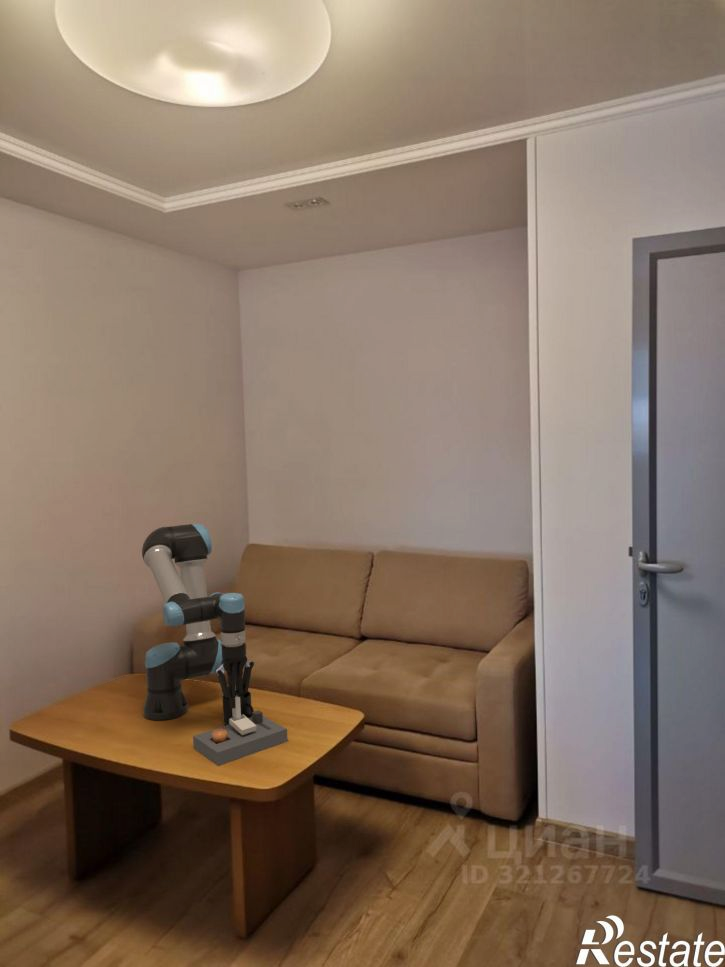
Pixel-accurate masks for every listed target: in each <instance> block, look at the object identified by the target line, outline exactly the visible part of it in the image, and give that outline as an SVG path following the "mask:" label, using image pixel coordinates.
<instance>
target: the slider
mask: <svg viewBox="0 0 725 967" xmlns="http://www.w3.org/2000/svg"><path fill="white" fill-rule="evenodd" d="M263 716H264V715H263V711H261V710H255V711H254V712H252V721H253V722H254V723H260V722H263Z"/></svg>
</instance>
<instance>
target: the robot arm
mask: <svg viewBox="0 0 725 967" xmlns="http://www.w3.org/2000/svg"><path fill="white" fill-rule="evenodd" d="M212 546H213V545H212V539H211V536H210V533H209V531H208V529H207V528H206V526H205V525H204V524H201V523H190V524H181V525H180V524H179V525H173V526H161V527H158V528H156V529H154V530H153V531H151V532H150V533H149V534H148V535H147V536H146V538H145V539H144V542H143V544H142V546H141V547H142V548H141V556H142V559H143V562H144V564H145V565H146V566H147V567H148V568H150V571H151V573H152V575H153V577H154V580H155V581H156V582H155V583H156V584H157V587H158V589H159V591H160V593H161V596H162V599H163V601H164V602H165V603H163V606H162V618H163V622H164V624H165V626H167V627H180V626H185V629H186V630H185V631H186V636H184V638H183V639H182V641H183V643H182V644H183V645H179V643H178V642H164V643H161V644H157V645H155V646H153V647H151V648H150V649H148V651H146V653H145V662H144V663H145V664H144V667H145V673H146V674H145V676H146V677H145V678H146V689H147V693H146V697H145V700H144V704H143V708H142V713H143V714H142V715H143V717H144V718H145V719H147V720H151V721H167V720H171V719H176V718H180V717H181V716H183V715H185V714H186V713H187V712H188V711H189V703H188V700H187V698H186V696H185V692H184V690H183V686H182V681H184V680H189V679H194V678H198V677H203V676H210V675H211V674H216V675H217V678H218V680H219V685H220V687H221V692H222V696H223V695H224V696H225V697H227V698H229V700H230V707H231V708H232V716H233V717H235V718H236V719H238V718H241V707H240V706H242V705H243V701H242V697H244V695H243V694H245V693H247V692H248V691H249V687H250V682H251V675H252V669H253V667H254V666H255V662H254V661H251V660H249V659H248V657H247V644H246V617H245V616H246V613H245V609H246V608H245V607H246V606H245V599H244V598H245V597H244V595H243V594H241V593H239V592H238V593H237V592H227V593H223V592H213V593H212V594H210V595H209V596H208V591H207V590H208V589H207V582H206V581H207V580H206V573H205V571H206V570H205V563H206V562H207V561H208V556H209V555H211V553H212ZM173 559H174V562H173ZM176 566H177V568H179V572H178V570H177V568H176ZM179 573H180V574H179ZM214 620H219V622H220V639H218V638H217V635H216V634H215V632H213V631H212V627H211V621H214ZM225 672H226V675H225ZM226 676H227V679H226ZM235 690H236V692H235ZM236 694H237V695H236Z"/></svg>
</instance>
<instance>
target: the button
mask: <svg viewBox="0 0 725 967" xmlns="http://www.w3.org/2000/svg"><path fill="white" fill-rule="evenodd" d="M212 738H213V742H215V743H216V744H218V743H221V742H224V741H226V740H227V730H225V729H218V730H215V731H213V732H212Z"/></svg>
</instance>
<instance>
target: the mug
mask: <svg viewBox="0 0 725 967" xmlns="http://www.w3.org/2000/svg"><path fill="white" fill-rule="evenodd" d="M235 692H236V689H235ZM236 695H237V694H236ZM243 695H244V697H242V701H243V705H242V706H240V707H241V715H243V714H244V715H245V716H246V717H247V718H251V717H252V712H254V707H253V706H252V694H251V692H250V691H249V690H248V692H247V693H245V694H243ZM221 699H222V712H223V714H222V715H223V716H222V717H223V723H224V725H225V726H226V725H229V719H230V718H234V717H233V716H232V708H231V707H230V700H229V698H227V697H225V696H224V695H223V694H222V698H221Z"/></svg>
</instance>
